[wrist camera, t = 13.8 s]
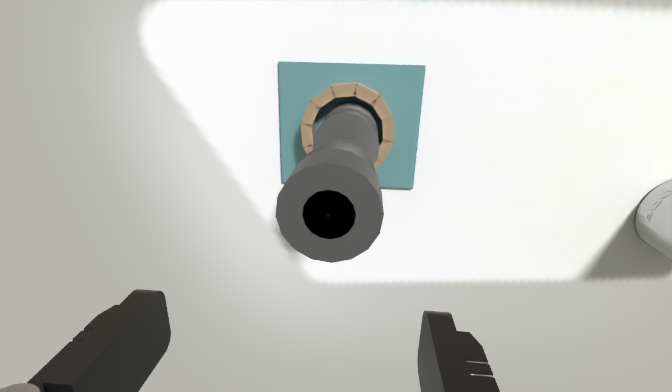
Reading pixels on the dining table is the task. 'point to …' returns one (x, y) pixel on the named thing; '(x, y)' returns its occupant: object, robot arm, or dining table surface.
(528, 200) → the dining table surface
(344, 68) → the runner mat
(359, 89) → the segmented wooden ring
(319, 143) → the candle holder
